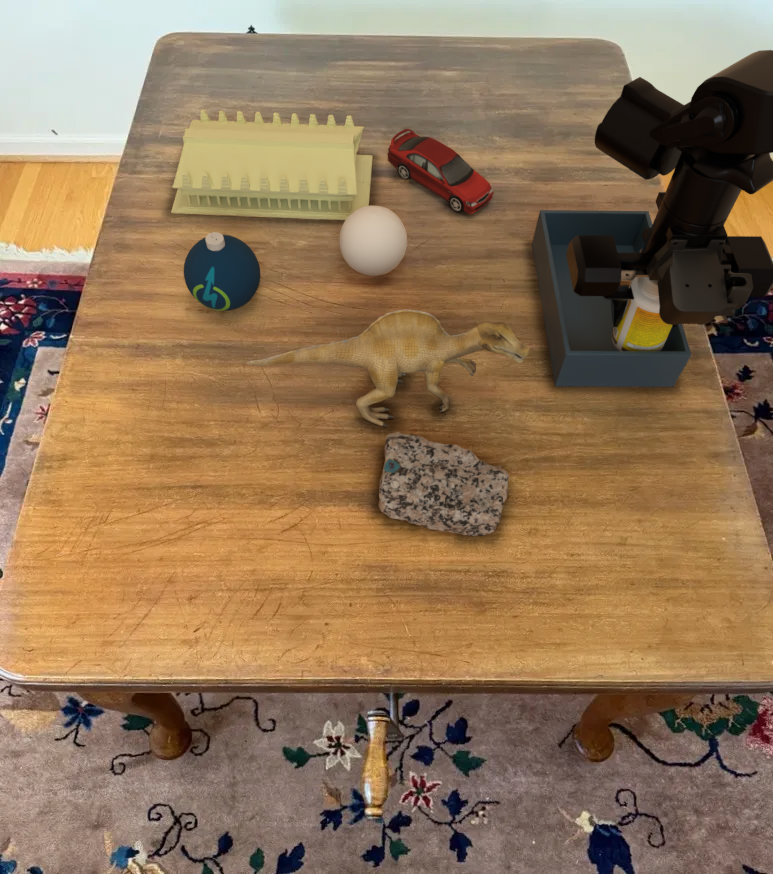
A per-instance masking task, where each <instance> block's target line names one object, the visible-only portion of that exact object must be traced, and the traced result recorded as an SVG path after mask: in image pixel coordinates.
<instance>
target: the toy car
mask: <svg viewBox="0 0 773 874" xmlns="http://www.w3.org/2000/svg"><path fill="white" fill-rule="evenodd" d="M387 150H388V152H387V153H386V154H387V161H388V163H390V164H391V166H393V167H394V168H395V169H397V173H398V175H399V176H400V177H401V179H403V180H405V181H407V180H409V179H411V180H413V181H414V182H416V183H418V184H419V185H421V186H422V187H424V188H425V189H427V190H429V191H430V192H432V193H434V194H435V195H437V196H438V197H440V198H442V199H443V200H445V201H446V202H448V204H449V206H450V208H451V210H453V211H454V212H456V213H460V212H464V213H467V214H468V215H473V214H474V213H476V212H477V211H479V210H481V209H483V208H484V207H485V206H486V205H487V204H489V202H490V201H491V200H492V199H493V195H494V194H495V193H494V190H493V188H492V186H491V183H490V182H489V181H488V180H487V179H486V178H485V177H483V176H482V175H481V174H480V173H479V172H477V171H476V170H475V169H474V168H473V167H472V166H471V165H470V164H469V163H468V162H467V161H466V160H465V159H463V157H462V156H461V155H460V154H459V153H458V152H457V151H456V150H454V149H453V148H451V147H449V146H447V145H446V144H444V143H443V142H440V141H439V140H437V139H435V138H432V137H430V136H420V135H418V134H416V132H415V131H413V130H412V129H410V128H405V129H403V130H401V131H398V133H396V134H395V135H394V136H393V137H392V138H391V141H390V144H389V145H388V149H387Z"/></svg>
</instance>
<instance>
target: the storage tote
mask: <svg viewBox="0 0 773 874" xmlns="http://www.w3.org/2000/svg"><path fill="white" fill-rule="evenodd" d="M652 225H653V221H652V217H651V215H650V212H649V210H589V209H588V210H585V209H583V210H581V209H580V210H579V209H577V210H573V209H572V210H571V209H570V210H569V209H566V210H565V209H564V210H563V209H540V210H539V213H538V217H537V221H536V225H535V230H534V233H533V234H534V235H533V238H532V242H531V250H532V255H533V261H534V267H535V275H536V279H537V287H538V293H539V298H540V303H541V308H542V309H541V310H542V316H543V321H544V328H545V335H546V341H547V347H548V352H549V359H550V365H551V370H552V377H553V384H554V387H567V388H568V387H569V388H571V387H577V388H579V387H583V388H584V387H588V388H589V387H592V388H593V387H595V388H596V387H598V388H600V387H603V388H604V387H606V388H618V387H619V388H620V387H621V388H635V387H636V388H653V387H654V388H674V386H675V385H676V383H677V382H678V380H679V378H680V376H681V374H682V373H683V371H684V370H685V367H687V364H688V362H689V360H690V359H691V357H692V352H691V349H690V348H691V347H690V345H689V342H688V339H687V334H686V332H685V328H684V324H678V325H676V326H675V327H672V328H671V330H670V332H669V335H668V337H667V339H666V341H665V344H664V346H663V348H662V349H661V351H619V350H618V349H617V348H616V347H615V345H614V344H613V341H612V331H613V328H614V326H613V322H612V314H611V303H610V300H608V299H605V298H604V297H603V296H579V295H578V294H576V293H575V292H574V291H573V286H572V281H571V276H570V271H569V266H568V261H567V256H566V253H567V250H568V246H569V243H570V241H571V240H572V239H573V238H574V237H575V236H578V235H593V236H614V240H615V244H616V248H617V252H618V253H639V252H640V250H641V249H643V247H644V241H643V238H642V234H643V232H644V229H645V227H646V228H651V227H652Z"/></svg>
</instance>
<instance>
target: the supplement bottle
mask: <svg viewBox="0 0 773 874" xmlns="http://www.w3.org/2000/svg"><path fill="white" fill-rule="evenodd" d="M631 288H632V292H633V295H634V299H633V300H628V302H627V305H626V308H625V311H624V315H623V318H622V320H621V322H620V324H619V325H618V327H614V328H613V331H612V341H613V344H614V345H615V347H616V348H617V349H618V350H619V351H661V349H662V348H663V346H664V344H665V341H666V339H667V337H668V335H669V332H670V330H671V328H672V325H670V324H666V323H665V322H663V321H662V319H661V318H660V314H659V309H660V304H659V293H658V280H649V277H635V278H634V280H633V281H632V283H631Z"/></svg>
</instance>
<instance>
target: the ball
mask: <svg viewBox="0 0 773 874" xmlns="http://www.w3.org/2000/svg"><path fill="white" fill-rule="evenodd" d="M338 241H339V250H340V253H341V255H342V258H343V260H344V261H345V263H346V264H347V265H348V266H349V267H350V268H351V269H353V270H354V271H356V273H359V274H361V275H364V276H367V277H368V276H369V277H379V276H383V275H385V274H388V273H390V272H392V271H393V270H395V269H396V268H397V267H398V266H399V265H400V263H401V262H402V260H403V259H404V257H405V256H406V252H407V247H408V235H407V229H406V227H405V225H404V224H403V221H402V219H401V218H400V217H399V216H398V215H397V214H396V212H394V211H393V210H390V209H389V208H387V207H384V206H381V205H369V206H365V207H362V208H359V209H357V210H356V211H354V212H353V213H352V214H351V215H349V216H348V218H347V219H346V220H344V222H343V223H342V225H341V228H340V231H339V240H338Z"/></svg>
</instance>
